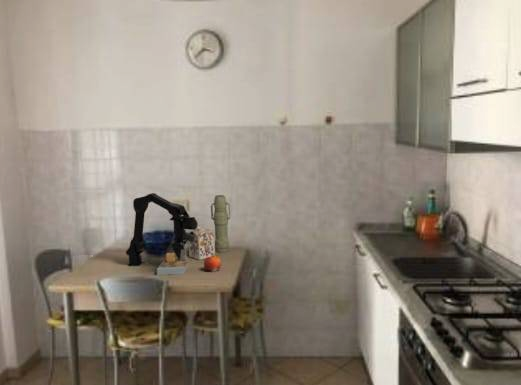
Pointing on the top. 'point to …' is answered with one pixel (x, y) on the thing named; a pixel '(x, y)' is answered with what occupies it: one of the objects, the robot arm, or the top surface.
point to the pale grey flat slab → (170, 270)
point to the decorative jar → (202, 244)
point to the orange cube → (170, 257)
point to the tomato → (212, 263)
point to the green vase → (220, 223)
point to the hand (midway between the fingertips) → (180, 256)
